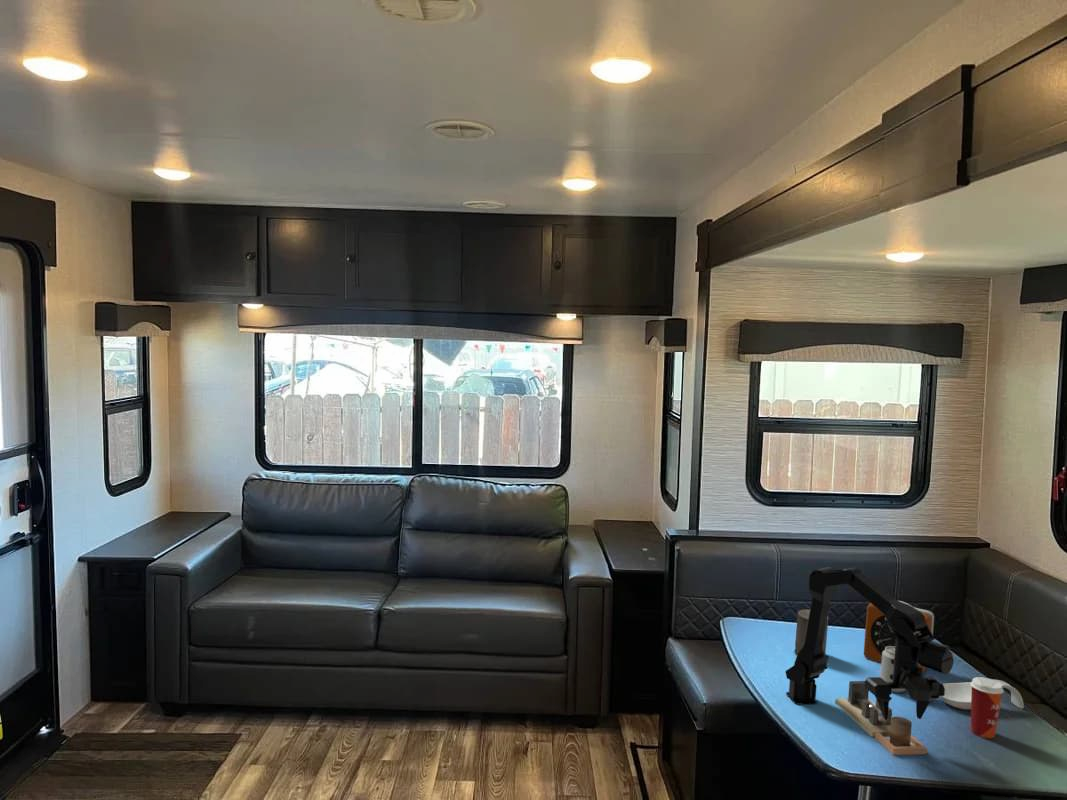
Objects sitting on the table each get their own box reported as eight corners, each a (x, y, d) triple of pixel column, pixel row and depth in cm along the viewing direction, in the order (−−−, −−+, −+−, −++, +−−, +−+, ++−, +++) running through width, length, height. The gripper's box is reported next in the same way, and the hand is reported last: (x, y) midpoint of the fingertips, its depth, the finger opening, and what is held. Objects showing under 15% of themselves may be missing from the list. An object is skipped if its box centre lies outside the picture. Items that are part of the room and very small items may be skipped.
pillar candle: (788, 651, 259) (791, 607, 258) (810, 647, 264) (813, 604, 262) (809, 662, 251) (813, 617, 249) (832, 658, 255) (835, 614, 253)
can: (910, 695, 229) (913, 655, 229) (883, 692, 231) (886, 652, 230) (903, 684, 237) (906, 646, 236) (877, 681, 238) (880, 643, 237)
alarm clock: (862, 658, 256) (867, 597, 254) (871, 650, 262) (875, 591, 261) (923, 675, 244) (928, 611, 242) (930, 667, 250) (935, 605, 249)
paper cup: (999, 743, 203) (1003, 691, 202) (965, 734, 207) (970, 683, 206) (999, 731, 210) (1004, 681, 208) (967, 723, 214) (971, 673, 212)
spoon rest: (951, 714, 219) (953, 690, 218) (927, 695, 230) (929, 672, 230) (1031, 715, 220) (1034, 691, 219) (1004, 696, 232) (1006, 673, 231)
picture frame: (892, 754, 195) (893, 748, 195) (875, 738, 203) (875, 732, 203) (926, 754, 196) (926, 747, 196) (907, 737, 204) (908, 731, 204)
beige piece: (871, 736, 204) (872, 716, 203) (835, 702, 223) (836, 684, 222) (907, 735, 205) (908, 716, 205) (868, 702, 224) (869, 683, 223)
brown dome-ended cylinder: (896, 748, 197) (898, 726, 197) (885, 739, 202) (887, 716, 202) (914, 748, 198) (915, 725, 198) (902, 738, 203) (904, 716, 202)
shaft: (874, 724, 207) (876, 703, 207) (848, 701, 221) (849, 681, 220) (892, 724, 208) (893, 703, 207) (864, 700, 221) (866, 681, 221)
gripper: (890, 673, 189) (885, 735, 190) (961, 672, 191) (956, 733, 192) (865, 655, 200) (861, 713, 201) (933, 654, 202) (928, 712, 203)
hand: (902, 718), depth 199 cm, fingers open, 9 cm apart
